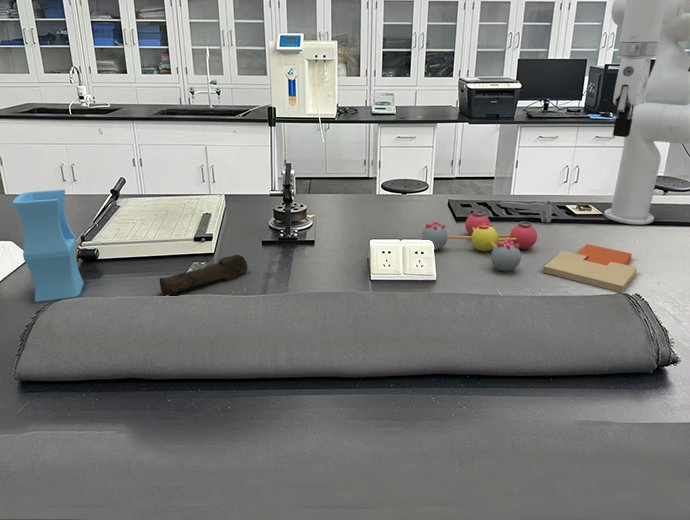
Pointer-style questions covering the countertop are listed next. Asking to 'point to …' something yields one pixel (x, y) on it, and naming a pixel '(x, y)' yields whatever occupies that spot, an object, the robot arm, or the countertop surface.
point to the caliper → (533, 208)
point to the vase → (49, 245)
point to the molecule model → (488, 239)
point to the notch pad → (590, 271)
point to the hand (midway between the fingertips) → (620, 135)
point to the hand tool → (204, 275)
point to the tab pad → (604, 255)
